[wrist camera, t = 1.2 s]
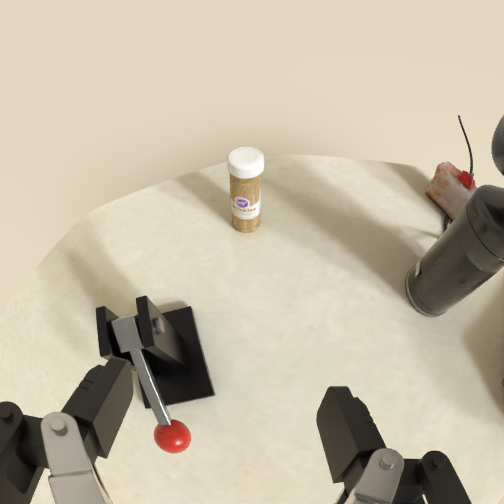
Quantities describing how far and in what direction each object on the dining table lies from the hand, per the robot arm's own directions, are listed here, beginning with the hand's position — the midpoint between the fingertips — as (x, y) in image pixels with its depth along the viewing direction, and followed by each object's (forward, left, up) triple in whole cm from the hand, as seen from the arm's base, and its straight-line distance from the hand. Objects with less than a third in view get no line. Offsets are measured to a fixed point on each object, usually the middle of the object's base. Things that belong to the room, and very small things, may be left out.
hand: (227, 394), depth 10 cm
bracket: (+4, -10, -24) cm, 26 cm away
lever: (+6, -6, -15) cm, 17 cm away
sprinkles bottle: (-17, -21, -24) cm, 36 cm away
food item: (-54, +1, -24) cm, 59 cm away
